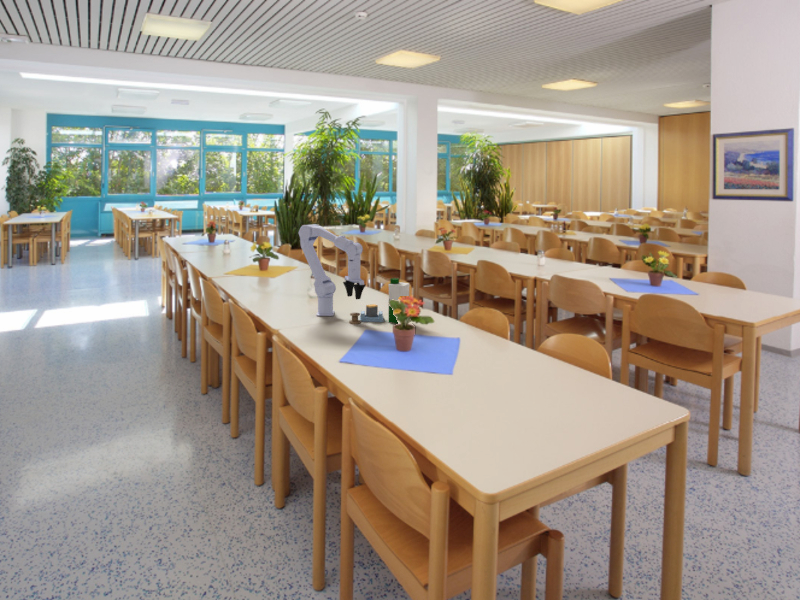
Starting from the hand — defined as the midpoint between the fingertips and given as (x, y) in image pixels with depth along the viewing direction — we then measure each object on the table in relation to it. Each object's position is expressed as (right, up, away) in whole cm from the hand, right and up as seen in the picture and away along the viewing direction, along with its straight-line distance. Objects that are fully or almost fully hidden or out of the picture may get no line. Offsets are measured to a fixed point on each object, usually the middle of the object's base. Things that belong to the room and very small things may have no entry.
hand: (353, 297), depth 265 cm
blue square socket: (+8, -10, 0) cm, 13 cm away
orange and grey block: (+8, -9, -1) cm, 12 cm away
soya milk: (+21, -11, -3) cm, 24 cm away
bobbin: (+1, -11, -7) cm, 13 cm away
